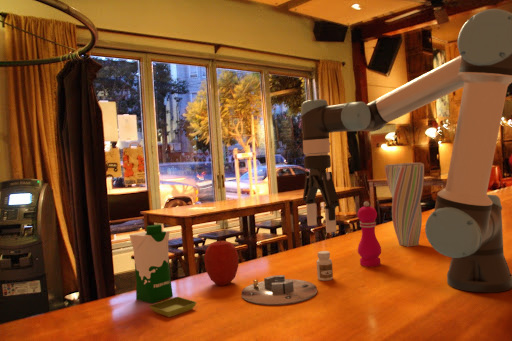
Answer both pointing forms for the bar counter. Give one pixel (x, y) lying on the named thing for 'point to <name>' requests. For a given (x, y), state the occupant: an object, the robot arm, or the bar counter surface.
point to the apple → (221, 262)
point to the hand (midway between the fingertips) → (321, 228)
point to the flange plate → (279, 299)
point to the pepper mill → (368, 237)
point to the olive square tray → (173, 306)
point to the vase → (406, 200)
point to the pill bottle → (324, 266)
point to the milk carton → (152, 264)
